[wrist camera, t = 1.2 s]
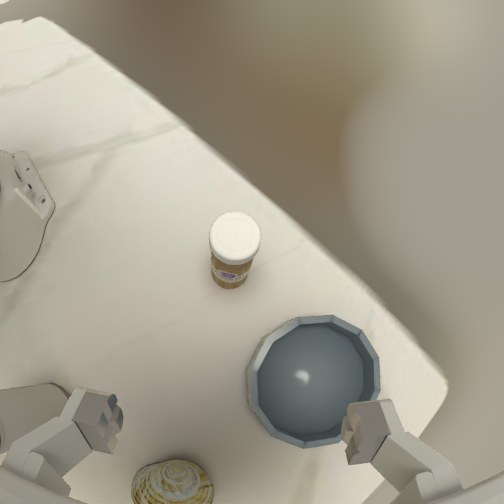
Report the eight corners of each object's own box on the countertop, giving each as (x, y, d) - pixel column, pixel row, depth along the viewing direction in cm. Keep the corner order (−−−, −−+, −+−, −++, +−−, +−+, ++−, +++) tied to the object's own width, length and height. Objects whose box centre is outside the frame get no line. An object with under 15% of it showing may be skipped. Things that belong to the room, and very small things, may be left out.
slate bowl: (222, 363, 36) (222, 364, 32) (325, 296, 40) (336, 290, 36) (290, 459, 33) (297, 470, 29) (384, 389, 37) (399, 392, 33)
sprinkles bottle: (212, 289, 39) (209, 260, 26) (211, 254, 40) (208, 209, 27) (249, 288, 39) (264, 259, 27) (247, 253, 41) (260, 209, 28)
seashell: (128, 510, 28) (108, 513, 21) (146, 451, 35) (132, 439, 28) (202, 532, 28) (204, 543, 21) (218, 472, 35) (223, 466, 28)
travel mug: (70, 437, 31) (-20, 481, 12) (32, 411, 31) (-66, 433, 12) (82, 399, 33) (-14, 427, 14) (43, 374, 33) (-60, 378, 14)
